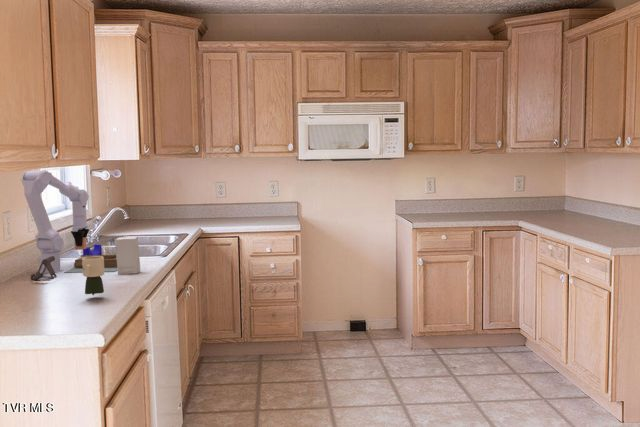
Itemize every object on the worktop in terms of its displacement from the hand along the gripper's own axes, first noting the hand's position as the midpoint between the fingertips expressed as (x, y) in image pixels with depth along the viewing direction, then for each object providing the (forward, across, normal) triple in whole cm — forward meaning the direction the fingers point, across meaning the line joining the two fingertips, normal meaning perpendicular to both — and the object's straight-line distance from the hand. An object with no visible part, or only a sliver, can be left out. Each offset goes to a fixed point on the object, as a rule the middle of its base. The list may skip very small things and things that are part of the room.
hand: (80, 245), depth 277 cm
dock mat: (+8, -15, -11) cm, 20 cm away
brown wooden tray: (+8, -7, -11) cm, 15 cm away
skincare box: (+9, -26, -27) cm, 39 cm away
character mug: (+9, -67, -26) cm, 72 cm away
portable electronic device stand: (+9, -34, +4) cm, 35 cm away
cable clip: (+9, +17, +1) cm, 19 cm away
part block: (+1, 0, 0) cm, 1 cm away
